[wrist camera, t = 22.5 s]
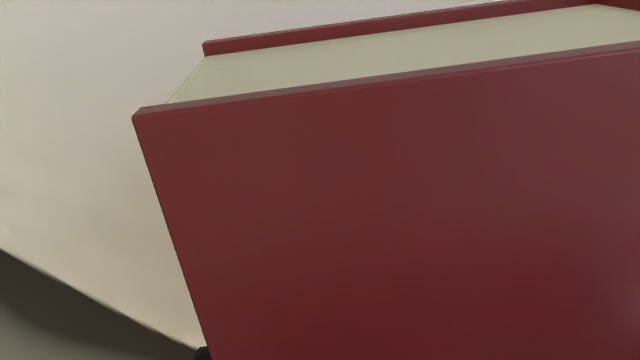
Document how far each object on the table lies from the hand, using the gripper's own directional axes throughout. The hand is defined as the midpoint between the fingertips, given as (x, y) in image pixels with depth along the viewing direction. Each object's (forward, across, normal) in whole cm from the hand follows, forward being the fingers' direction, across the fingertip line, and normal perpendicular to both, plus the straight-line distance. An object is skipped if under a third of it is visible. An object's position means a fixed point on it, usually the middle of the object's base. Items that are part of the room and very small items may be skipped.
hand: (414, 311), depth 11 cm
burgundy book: (0, 0, 0) cm, 0 cm away
